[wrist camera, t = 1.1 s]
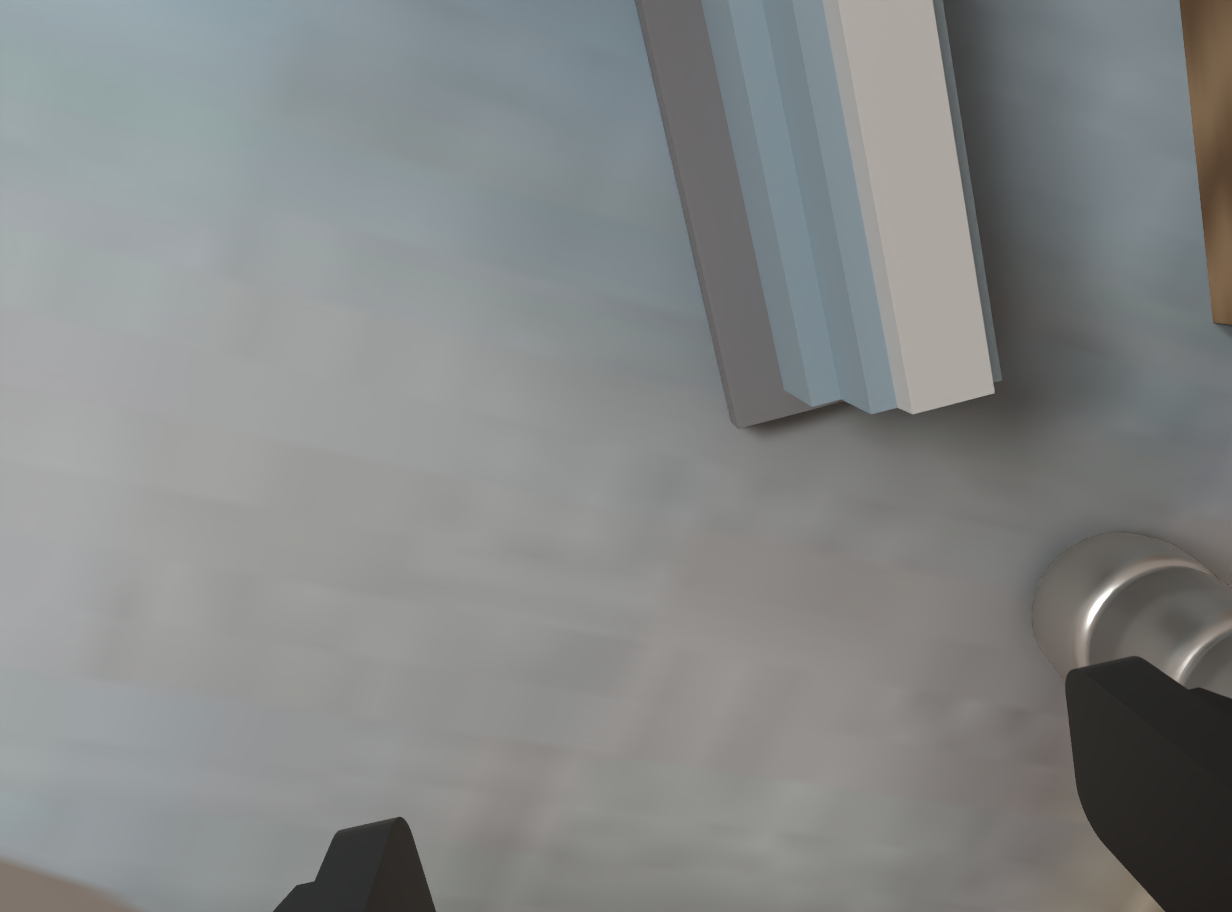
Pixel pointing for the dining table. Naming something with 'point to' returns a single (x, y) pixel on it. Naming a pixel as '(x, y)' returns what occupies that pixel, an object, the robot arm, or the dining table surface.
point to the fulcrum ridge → (826, 201)
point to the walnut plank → (1212, 136)
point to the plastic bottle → (1136, 610)
